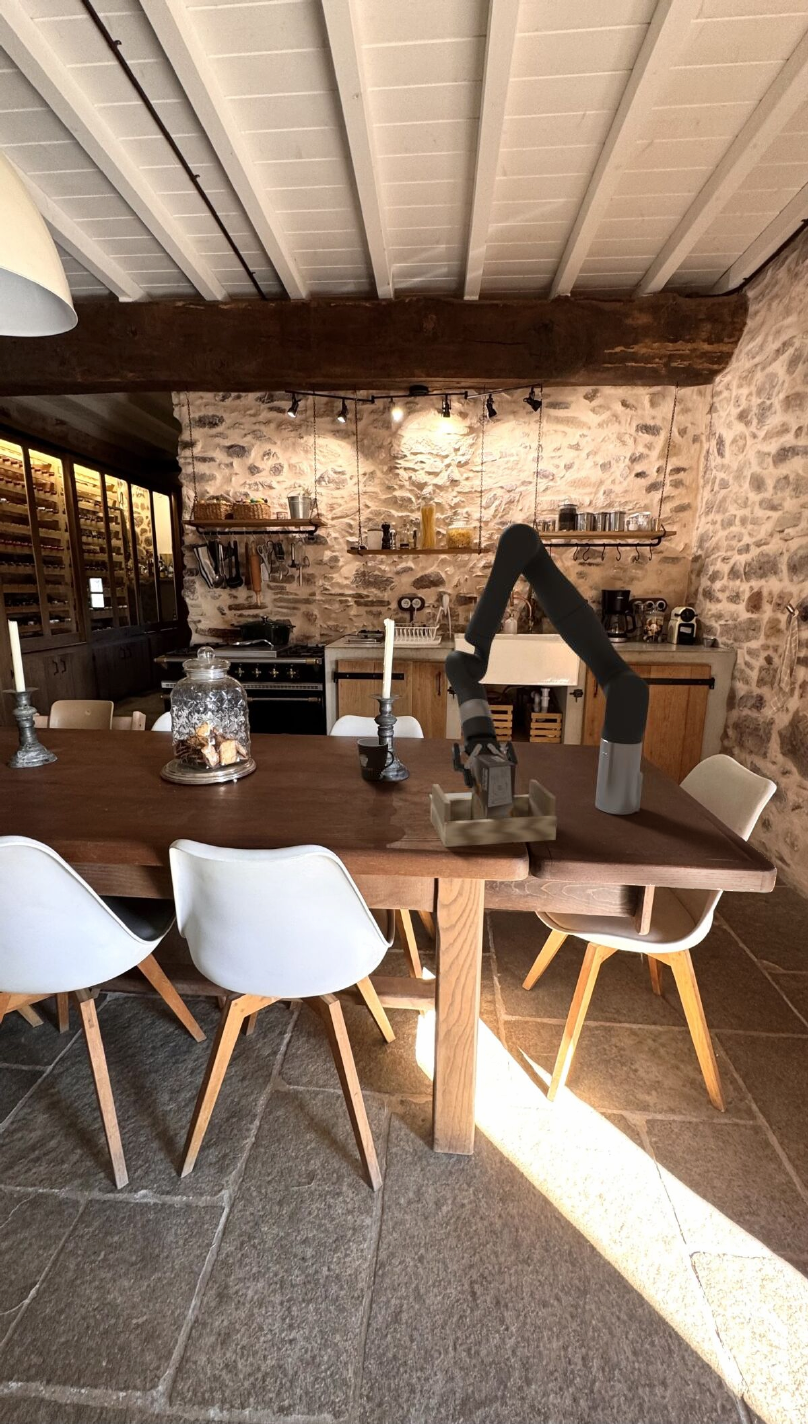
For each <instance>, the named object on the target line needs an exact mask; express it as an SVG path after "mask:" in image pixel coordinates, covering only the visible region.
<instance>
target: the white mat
mask: <svg viewBox="0 0 808 1424" xmlns="http://www.w3.org/2000/svg"><path fill="white" fill-rule="evenodd" d="M444 794H445V796H446V797H447V798H448V799H449V798H469V797H472V791H471V792H456V793H455V792H454V793H453V792H452V793H444ZM429 798H430V800H431V799H432V794H431V793H430V794H429Z"/></svg>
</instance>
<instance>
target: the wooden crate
mask: <svg viewBox="0 0 808 1424" xmlns="http://www.w3.org/2000/svg"><path fill="white" fill-rule="evenodd" d="M431 790H432V791H431V793H432V799H431V798H430V822H431V824H432V825H433V828H434V829H435V831H436V833H437V835H438V836H439V838H440V840H441V843H442V844H443V846H444V847H445V848H448V847H464V846H465V847H466V846H478V845H493V844H495V845H496V844H497V845H498V844H508V843H509V844H510V842H511V844H512V842H513V843H524V842H525V843H527V842H542V841H543V842H544V841H556V836H557V821H558V816H557V815H555V814H556V801H557V797H556V796H555V795H554V794H552V793H551V792H550V790H548V789H547V788H545V787H544V786H543V785H542V784H541V783H540V782H538V781H537V780H536V779H529V786H528V794H514V809H513V818H501V819H483V820H471V799H472V797H469V798H449V799H448V798H447V797H446V796H445V794H446V793H445V792H444V791H443V789H442V788H441V787H440V785H439V784H438V783H436V784H435V783H433V784H432V789H431Z"/></svg>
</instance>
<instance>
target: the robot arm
mask: <svg viewBox="0 0 808 1424" xmlns="http://www.w3.org/2000/svg"><path fill="white" fill-rule="evenodd" d="M496 546H497V547H496V551H495V556H494V560H493V564H492V565H491V566H492V567H491V570H490V573H489V576H488V579H487V581H486V583H485V586H484V588H483V591H482V593H481V595H480V598H479V601H478V602H477V604H476V607H475V609H474V611H473V614H472V615H471V617H470V619H469V620H470V621H468V622H469V623H468V625H467V628H466V630H465V632H464V635H463V637H464V641H466V642H467V644H469V645H470V646H473V647H474V651H473V653H469V652H467V651H463V650H453V651H451V652H450V653H448V654H447V656H446V658H445V661H444V672H445V676H446V678H447V681H448V682H449V684H450V686H451V689H452V690H453V692H454V693H455V695H456V698H457V704H458V711H459V723H460V724H459V725H460V726H461V731H462V736H463V742H464V745H462V744H459V743H458V742H455V743H453V746H452V748H451V754H452V756H451V757H452V766H453V770H454V772H461V773H462V776H463V781H464V785H465V786H466V787H467V788H468V789H472V787H473V779H472V769H471V767H473V756H476V755H483V754H499V755H501V756H502V757H504V758H505V756H506V759H507V760H509V761H510V762H512V763H514V764H515V765H516V766H517V765H518V763H519V762H518V759H517V756H516V755H517V754H516V752H515V749H514V746H513V742H511V741H506V743H499V741H498V738H497V737H498V736H497V732H496V728H495V723H494V718H493V714H492V709H491V707H490V706H489V701H488V700H489V699H488V696H487V691H486V688H485V686H484V685H483V684H482V683H481V682H482V680H483V679H484V678H485V676H486V675H487V672H488V667H489V662H490V654H491V651H492V649H491V648H492V644H493V642H494V640H495V637H496V635H497V632H498V630H499V628H500V626H501V624H502V620H503V619H504V618H503V617H504V616H505V612H506V610H507V607H508V604H509V600H510V597H511V595H512V592H513V590H514V588H515V586H516V583H517V581H518V580H519V579H520V577H521V575H522V576H523V577H524V579H525V580H526V581H527V583H528V584H529V586H530V587H531V589H532V590H533V592H534V594H535V595H536V597H537V600H538V602H539V604H540V606H541V609H542V610H543V612H544V614H545V615H546V617H547V619H548V621H549V622H550V624H551V625H552V627H553V628H554V629H555V630H556V632H557V634H558V635H559V636H560V638H561V639H562V640H563V641H564V643H565V644H566V645H567V646H568V647H569V648H570V649H571V651H573V652H574V654H576V655H577V657H578V658H579V659H581V660H582V661H583V663H584V664H585V665H586V666H587V668H588V669H589V671H590V672H591V674H592V675H593V676H594V679H595V680H596V682H597V683H598V685H599V687H600V689H601V690H602V693H603V695H604V697H605V707H604V708H605V709H604V717H603V718H604V720H603V724H602V726H601V732H600V733H601V735H600V736H601V737H600V747H599V757H598V769H597V780H596V781H597V782H596V790H595V791H596V793H595V803H594V805H595V808H597V809H598V810H600V811H602V812H605V813H607V814H612V815H622V816H623V815H630V814H633V813H636V812H640V806H641V797H642V796H641V795H642V787H643V786H642V785H643V777H644V775H643V774H644V773H643V772H642V771H640V769H641V767H640V766H641V761H642V760H641V757H642V751H643V750H642V749H643V741H644V740H643V739H644V735H645V732H646V728H647V720H648V714H649V706H650V686H649V685H648V683H647V682H646V681H645V680H644V679H643V677H641V675H639V674H638V673H637V672H635V671H634V669H632V667H630V666H629V664H628V662H626V661H625V660H624V659H623V657H622V656H621V655H620V654H619V653H618V651H617V649H616V648H615V647H614V646H613V644H612V642H611V640H610V638H609V635H608V633H607V632H606V629H605V627H604V625H603V624H602V622H601V620H600V619H599V617H598V616H597V614H596V613H595V611H594V609H593V608H592V607H591V605H590V604H589V603H588V601H587V599H586V598H585V597H584V596H583V595H582V593H581V592H580V591H579V590H578V588H577V587H576V586H575V585H574V584H573V583H572V581H571V580H570V579H568V577H567V576H566V575H565V574H564V573H563V572H562V571H561V569H560V568H559V567H558V566H557V564H556V562H554V560H553V558H552V556H551V555H550V553H549V551H548V550H547V548H546V546H545V544H544V542H543V541H542V538H541V536H540V534H539V533H538V531H537V530H536V529H535V528H534V527H533V526H531V525H529V524H527V523H523V522H522V523H520V522H519V523H513V524H510V525H508V526H507V527H506V528H505V529H504V530H502V532H501V533H500V536H499V539H498V542H497V545H496ZM480 681H481V682H480ZM500 750H501V751H502V752H503V754H505V756H504V755H503V754H502V753H501V752H500ZM463 752H464V753H465V754H466V755H467V756H468V759H467V760H466V762H465V763H462V760H461V759H462V758H461V755H462V753H463Z"/></svg>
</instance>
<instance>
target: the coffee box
mask: <svg viewBox="0 0 808 1424" xmlns="http://www.w3.org/2000/svg"><path fill="white" fill-rule="evenodd" d="M516 768H517V765H515V764H514V763H512V762H510V761H509V760H507V758H505V756H504V757H502V756H501V755H499V754H483V755H476V756H473V764H472V769H471V773H472V779H473V787H472V788H471V792H472V799H471V820H483V819H501V818H513V809H514V795H515V787H516V784H515V783H516Z"/></svg>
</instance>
